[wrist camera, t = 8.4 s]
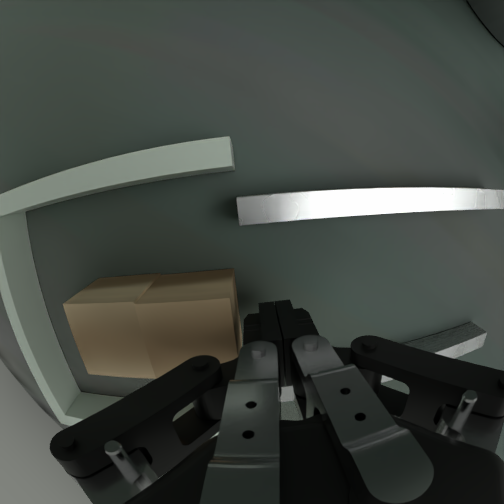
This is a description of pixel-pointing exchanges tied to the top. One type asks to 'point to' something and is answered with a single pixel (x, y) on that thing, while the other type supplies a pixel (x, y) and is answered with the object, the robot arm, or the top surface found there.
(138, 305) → the tan cube
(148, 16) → the top surface
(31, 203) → the frame
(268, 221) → the slot rails
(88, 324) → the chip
